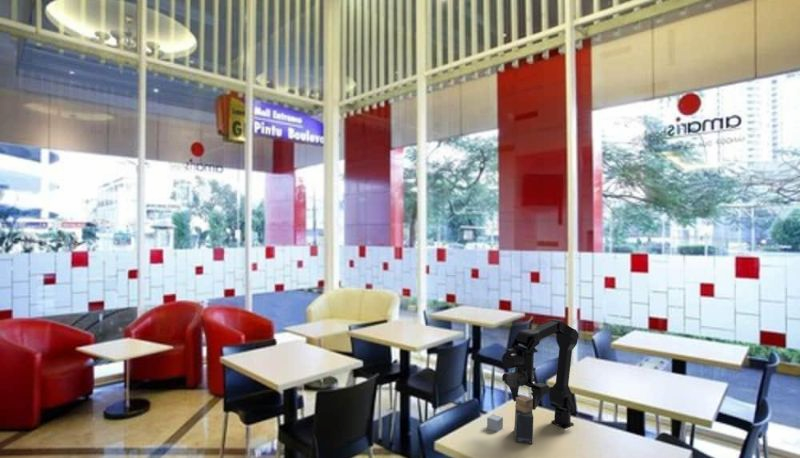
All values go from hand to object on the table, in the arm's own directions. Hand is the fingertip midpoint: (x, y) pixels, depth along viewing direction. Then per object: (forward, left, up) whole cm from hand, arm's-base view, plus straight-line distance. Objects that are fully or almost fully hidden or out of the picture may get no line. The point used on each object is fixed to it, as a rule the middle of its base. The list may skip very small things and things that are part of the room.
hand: (524, 405), depth 170 cm
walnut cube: (0, 0, -2) cm, 2 cm away
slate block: (+4, -11, -12) cm, 17 cm away
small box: (0, 0, -12) cm, 12 cm away
